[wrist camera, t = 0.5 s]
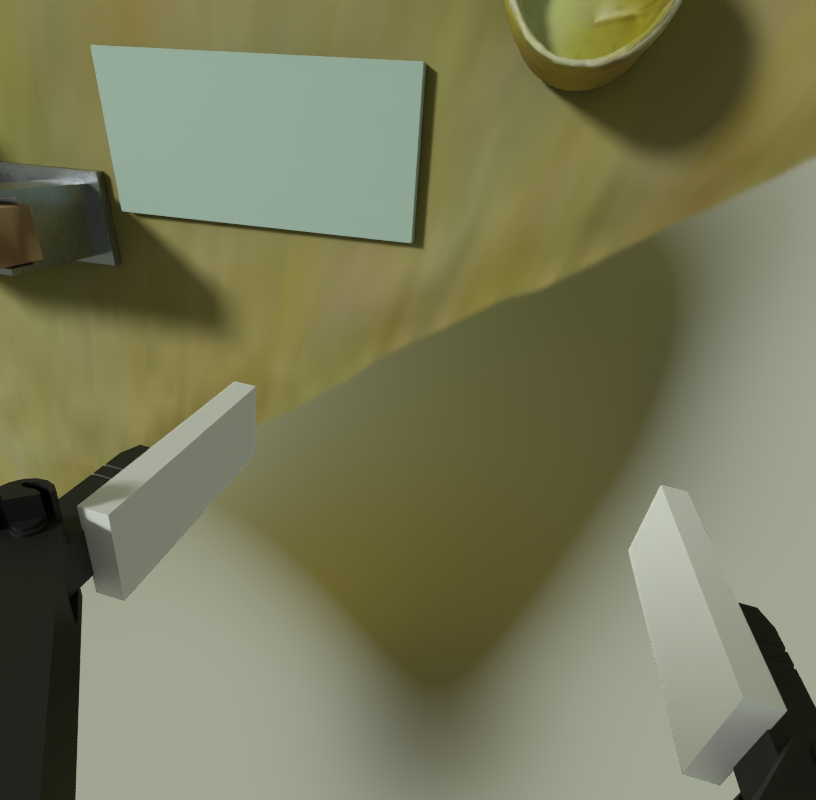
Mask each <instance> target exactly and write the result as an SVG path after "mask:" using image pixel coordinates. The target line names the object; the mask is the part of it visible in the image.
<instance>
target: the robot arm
mask: <svg viewBox="0 0 816 800" xmlns="http://www.w3.org/2000/svg"><path fill="white" fill-rule="evenodd" d="M255 454H256V386H252V385H248V384H244V383H239V382H235V381H234V382H233V383H232V384H230V385H229V386H228V387H227V388H225V389H224V390H223V391H222V392H220V393H219V394H218V395H217V396H215V397H214V398H213V399H212V400H210V401H209V402H208V403H206V404H205V405H204V406H203V407H201V408H200V409H199V410H198V411H196V412H195V413H194V414H193V415H191V416H190V417H189V418H188V419H186V420H185V421H184V422H182V423H181V424H180V425H179V426H177V427H176V428H175V429H174V430H172V431H171V432H170V433H169V434H167V435H166V436H165V437H164V438H162V439H161V440H160V441H158V442H157V443H156V444H155V445H153V446H152V447H151V448H150V447H146V446H143V445H139V446H136V447H134V448H131V449H129V450H126V451H124V452H121V453H120V454H118V455H117V456H116V457H114V458H113V459H112V460H110V461H109V462H108V463H106V466H102V467H101V468H100V469H98V470H97V471H96V472H94V475H90V476H89V477H88V478H86V479H85V480H84V481H82V482H81V483H80V484H78V485H77V486H76V487H74V488H73V489H72V490H70V491H69V492H68V493H66V494H65V495H63V496H62V497H61V498H59V499H58V496H57V492H56V489H55V486H54V484H52V483H51V482H49V481H48V480H43V479H38V478H33V479H21V480H17V481H13V482H9V483H7V484H4V485H2V486H0V800H75V793H76V765H77V764H76V763H77V736H78V707H79V678H80V648H81V621H82V620H81V619H82V593H81V589H80V587H81V586H82V585H83V584H84V583H85V582H86V581H87V580H89V579H90V577H91V576H93V579H94V583H95V588H96V592H98V593H101V594H104V595H107V596H111V597H114V598H117V599H120V600H123V601H124V600H126V598H127V597H128V596H129V595H130V594H131V593H132V591H134V590H135V588H136V587H137V586H138V585H139V584H140V583H141V582H142V581H143V579H144V578H145V577H146V576H147V575H148V574H149V573H150V572H151V570H152V569H153V568H154V567H155V566H156V565H157V564H158V563H159V562H160V560H161V559H162V558H163V557H164V556H165V555H166V553H168V551H169V550H170V549H171V548H172V547H173V546H174V545H175V544H176V543H177V541H178V540H179V539H180V538H181V537H182V536H183V535H184V534H185V533H186V531H187V530H188V529H189V528H190V527H191V526H192V525H193V524H194V523H195V521H196V520H197V519H198V518H199V517H200V516H201V515H202V514H203V512H204V511H205V510H206V509H207V508H208V507H209V506H210V505H211V504H212V502H213V501H214V500H215V499H216V498H217V497H218V496H219V494H220V493H221V492H222V491H223V490H224V489H225V488H226V487H227V486H228V484H229V483H230V482H231V481H232V480H233V479H234V478H235V477H236V476H237V474H238V473H239V472H240V471H241V470H242V469H243V468H244V467H245V466H246V464H247V463H248V462H249V461H250V460H251V459H252V458H253V456H254V455H255ZM628 552H629V556H630V560H631V564H632V569H633V572H634V577H635V581H636V585H637V589H638V593H639V598H640V602H641V606H642V610H643V614H644V618H645V622H646V626H647V630H648V635H649V639H650V643H651V647H652V651H653V655H654V659H655V664H656V668H657V672H658V676H659V680H660V684H661V688H662V692H663V696H664V701H665V705H666V709H667V713H668V717H669V721H670V725H671V730H672V734H673V738H674V742H675V746H676V750H677V754H678V758H679V762H680V767H681V771H682V774H685V775H688V776H691V777H695V778H698V779H701V780H704V781H708V782H711V783H714V784H717V785H721V784H722V783H723V782H724V781H725V779H726V778H727V777H728V776H729V775H730V774H731V773H732V772H733V771H734V773H735V776H736V779H737V782H738V785H739V788H740V791H741V792H740V793H739V794H738V795H737V796H736V797H735V798H734V799H733V800H816V707H815V705H814V704H813V701H812V700H811V698H810V696H809V694H808V692H807V690H806V688H805V686H804V684H803V682H802V680H801V678H800V676H799V674H798V672H797V670H796V669H794V664H793V662H792V660H791V658H790V656H789V654H788V653H787V652H785V646H784V644H783V643H782V641H781V639H780V637H779V635H778V633H777V631H776V629H775V627H774V626H773V625H772V624H771V623H770V622H769V621H768V619H767V618H766V617H765V616H764V615H763V614H762V613H761V612H760V610H759V609H758V608H756V607H752V606H748V605H745V604H741V603H738V602H737V599H736V597H735V595H734V593H733V590H732V588H731V586H730V584H729V582H728V579H727V577H726V575H725V573H724V571H723V568H722V566H721V564H720V562H719V560H718V558H717V555H716V553H715V551H714V549H713V547H712V544H711V542H710V540H709V538H708V536H707V534H706V532H705V529H704V527H703V525H702V523H701V520H700V518H699V516H698V514H697V511H696V509H695V507H694V505H693V503H692V500H691V498H690V496H689V494H688V492H687V491H685V490H681V489H676V488H672V487H668V486H664V485H661V486H660V488H659V490H658V492H657V494H656V496H655V498H654V500H653V502H652V504H651V506H650V508H649V510H648V512H647V514H646V516H645V518H644V520H643V522H642V524H641V526H640V528H639V530H638V532H637V534H636V536H635V538H634V540H633V542H632V544H631V546H630V548H629V550H628Z"/></svg>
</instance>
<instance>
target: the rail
mask: <svg viewBox="0 0 816 800" xmlns="http://www.w3.org/2000/svg"><path fill="white" fill-rule="evenodd" d="M41 259H43V256H42V252H41V249H40V245H39V241H38V238H37V234H36V230H35V226H34V223H33V219H32V215H31V212H30V208H29V205H25V204H16V203H7V202H0V269H2V268H6V267H11V266H15V265H19V264H24V263H28V262H33V261H37V260H41Z"/></svg>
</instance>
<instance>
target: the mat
mask: <svg viewBox="0 0 816 800" xmlns="http://www.w3.org/2000/svg"><path fill="white" fill-rule="evenodd" d="M90 46H91V52H92V57H93V62H94V67H95V73H96V78H97V83H98V89H99V94H100V99H101V104H102V110H103V115H104V120H105V125H106V131H107V136H108V141H109V147H110V152H111V157H112V162H113V168H114V173H115V178H116V183H117V189H118V194H119V199H120V205H121V210H122V211H123V212H132V213H141V214H150V215H159V216H168V217H177V218H187V219H196V220H205V221H214V222H223V223H232V224H241V225H250V226H259V227H268V228H277V229H286V230H295V231H305V232H314V233H323V234H332V235H341V236H350V237H359V238H368V239H377V240H386V241H395V242H404V243H412V242H413V241H414V232H415V217H416V203H417V189H418V175H419V160H420V146H421V132H422V118H423V104H424V89H425V75H426V63H425V62H422V61H402V60H382V59H362V58H342V57H322V56H302V55H282V54H262V53H242V52H222V51H202V50H182V49H162V48H142V47H122V46H102V45H90Z"/></svg>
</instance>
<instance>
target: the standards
mask: <svg viewBox="0 0 816 800" xmlns="http://www.w3.org/2000/svg"><path fill="white" fill-rule="evenodd" d="M0 202H7V203H16V204H25V205H29V208H30V212H31V215H32V219H33V223H34V226H35V230H36V234H37V238H38V241H39V245H40V249H41V252H42V256H43V259H41V260H37V261H33V262H28V263H24V264H19V265H15V266H11V267H6V268H2V269H0V274H3V275H10V276H15V275H19V274H23V273H27V272H31V271H35V270H39V269H44V268H48V267H52V266H56V265H60V264H64V263H68V262H72V261H82V262H90V263H97V264H105V265H113V266H116V265H120V264H121V260H120V255H119V250H118V245H117V240H116V235H115V230H114V225H113V220H112V215H111V210H110V205H109V200H108V195H107V190H106V185H105V180H104V175H103V171H93V170H83V169H73V168H62V167H52V166H41V165H31V164H21V163H10V162H0Z"/></svg>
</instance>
